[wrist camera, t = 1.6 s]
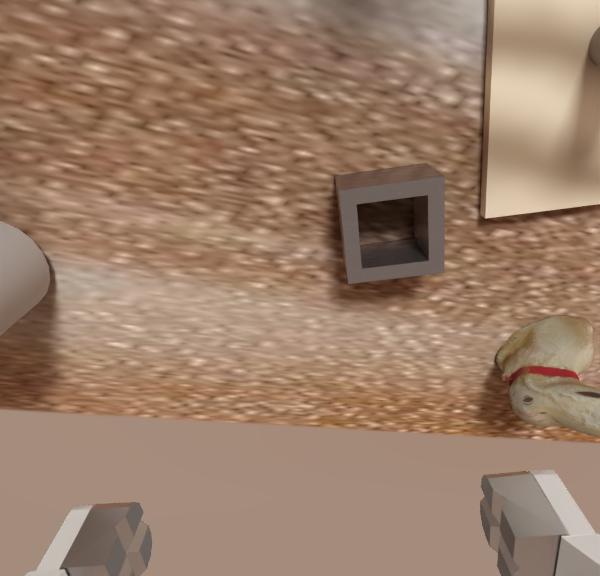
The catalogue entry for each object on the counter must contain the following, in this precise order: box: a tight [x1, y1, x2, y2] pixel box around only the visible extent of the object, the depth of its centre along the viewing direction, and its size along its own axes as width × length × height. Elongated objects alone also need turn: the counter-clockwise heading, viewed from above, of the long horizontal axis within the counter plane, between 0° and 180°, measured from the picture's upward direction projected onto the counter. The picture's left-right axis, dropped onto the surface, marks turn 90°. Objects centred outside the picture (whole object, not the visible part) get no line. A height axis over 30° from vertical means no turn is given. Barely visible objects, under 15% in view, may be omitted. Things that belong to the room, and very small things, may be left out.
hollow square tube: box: [335, 163, 445, 284], centre depth 30 cm, size 6×6×4 cm
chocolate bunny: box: [496, 315, 600, 437], centre depth 33 cm, size 6×8×10 cm
